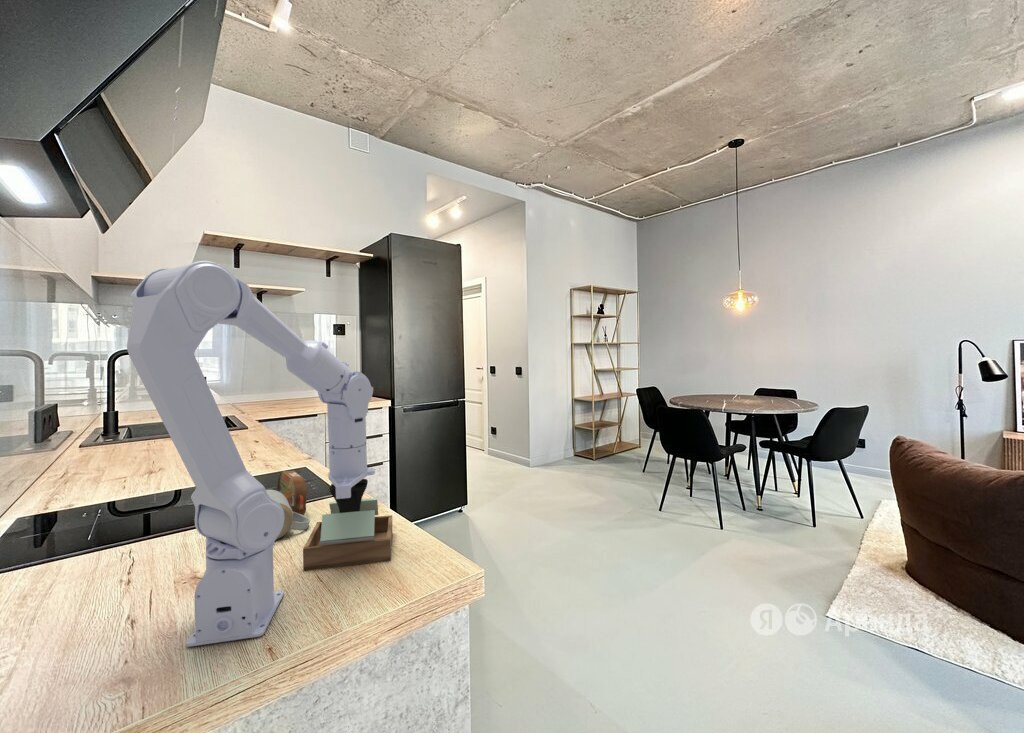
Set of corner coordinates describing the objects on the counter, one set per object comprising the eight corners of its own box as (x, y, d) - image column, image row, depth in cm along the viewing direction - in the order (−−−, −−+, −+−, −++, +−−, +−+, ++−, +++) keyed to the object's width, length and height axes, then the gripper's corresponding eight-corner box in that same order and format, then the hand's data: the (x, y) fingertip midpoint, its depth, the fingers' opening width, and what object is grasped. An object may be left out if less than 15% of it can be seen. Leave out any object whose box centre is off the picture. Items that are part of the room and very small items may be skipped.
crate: (390, 560, 69) (390, 539, 69) (303, 570, 66) (302, 548, 66) (392, 533, 80) (392, 515, 80) (317, 540, 77) (317, 522, 77)
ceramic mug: (249, 548, 74) (249, 504, 74) (242, 533, 80) (242, 492, 80) (314, 533, 81) (314, 493, 80) (303, 520, 87) (303, 483, 87)
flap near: (320, 545, 67) (319, 544, 66) (322, 515, 69) (322, 514, 69) (374, 539, 69) (373, 539, 68) (374, 510, 71) (374, 509, 70)
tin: (276, 505, 96) (275, 467, 95) (291, 502, 98) (291, 465, 97) (292, 525, 84) (291, 483, 84) (309, 521, 86) (309, 480, 86)
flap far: (378, 515, 79) (378, 513, 80) (377, 500, 77) (377, 497, 77) (331, 519, 77) (332, 517, 78) (329, 503, 75) (329, 501, 75)
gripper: (370, 454, 63) (373, 543, 64) (376, 433, 77) (378, 507, 78) (319, 457, 62) (322, 549, 62) (334, 436, 76) (336, 511, 77)
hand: (350, 526), depth 70 cm, fingers closed, pressing on flap near
